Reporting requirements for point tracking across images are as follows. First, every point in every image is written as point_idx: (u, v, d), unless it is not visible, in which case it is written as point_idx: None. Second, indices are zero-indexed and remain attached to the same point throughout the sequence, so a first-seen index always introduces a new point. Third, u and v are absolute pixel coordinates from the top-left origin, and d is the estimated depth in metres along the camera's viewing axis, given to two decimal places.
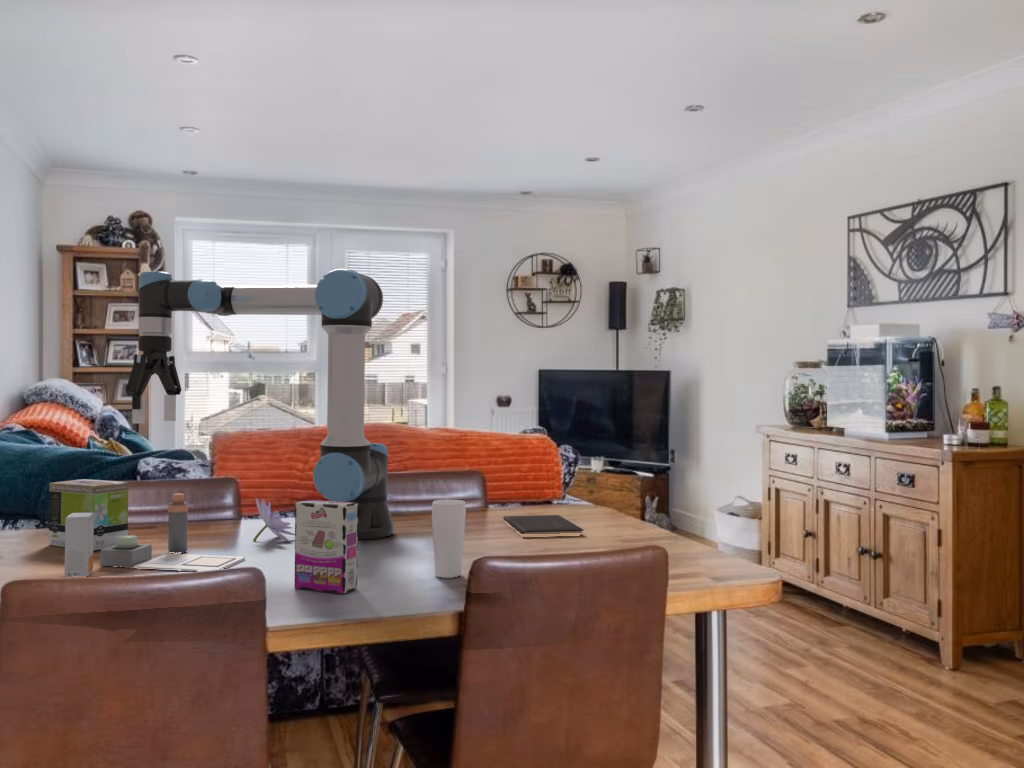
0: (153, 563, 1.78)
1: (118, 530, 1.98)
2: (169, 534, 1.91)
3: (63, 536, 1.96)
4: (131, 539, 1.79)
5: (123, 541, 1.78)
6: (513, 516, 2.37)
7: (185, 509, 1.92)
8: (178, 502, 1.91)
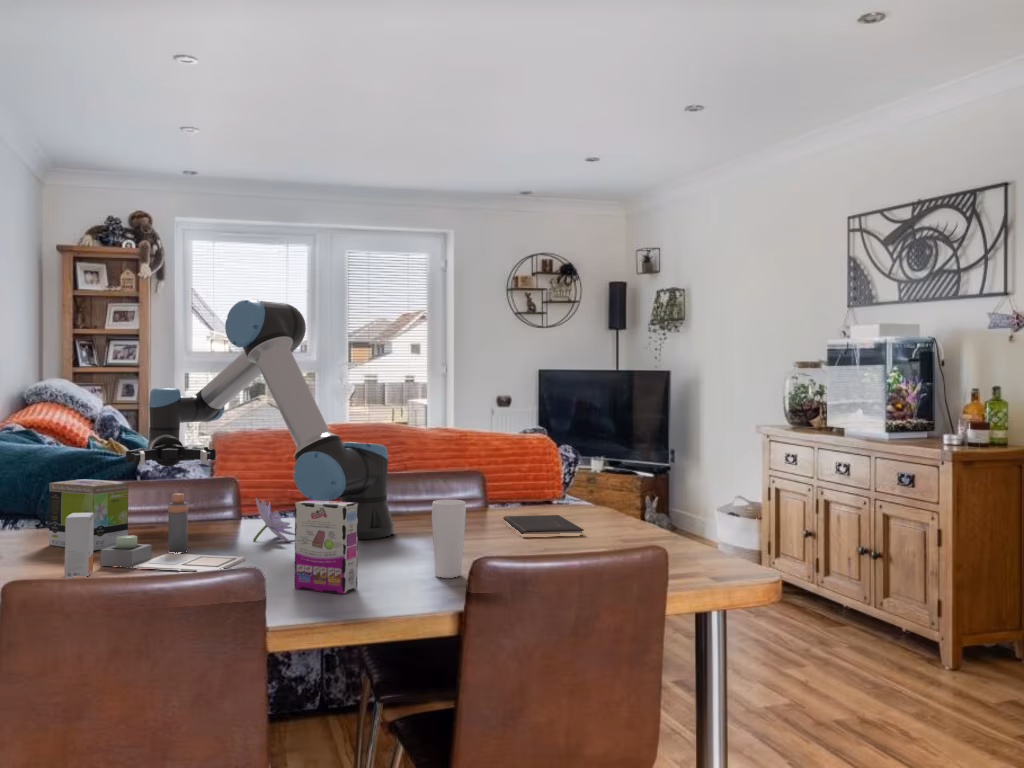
0: (153, 563, 1.78)
1: (118, 530, 1.98)
2: (169, 534, 1.91)
3: (63, 536, 1.96)
4: (131, 539, 1.79)
5: (123, 541, 1.78)
6: (513, 516, 2.37)
7: (185, 509, 1.92)
8: (178, 502, 1.91)
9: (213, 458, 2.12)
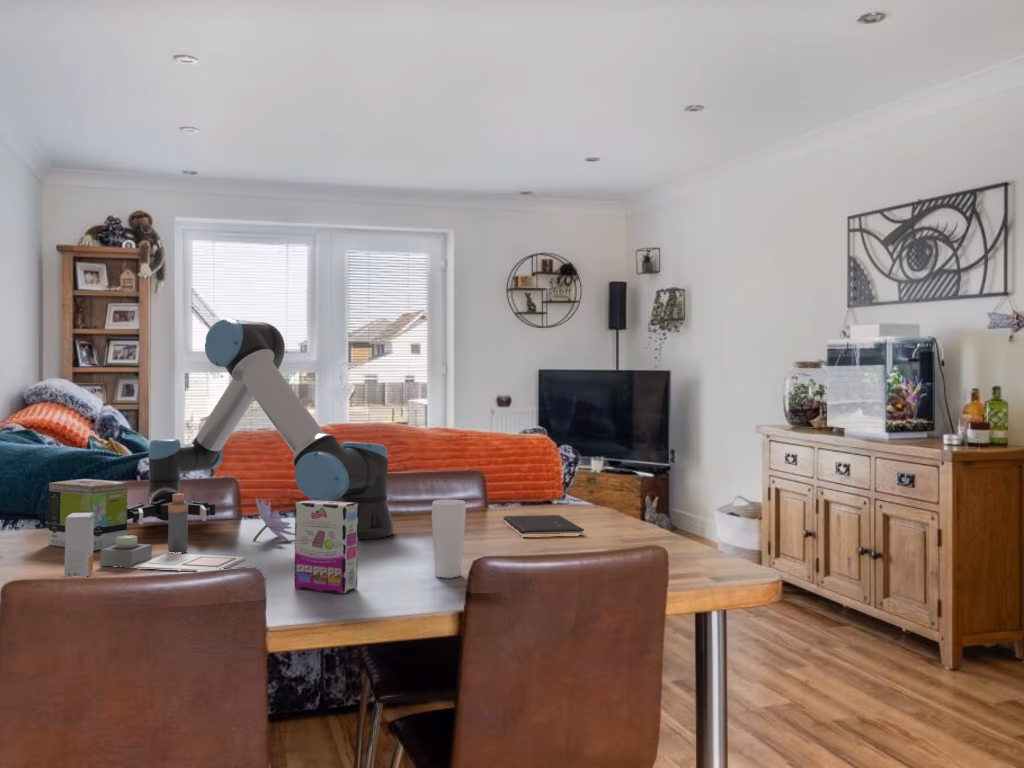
0: (153, 563, 1.78)
1: (117, 530, 1.97)
2: (169, 534, 1.91)
3: (62, 536, 1.95)
4: (131, 539, 1.79)
5: (123, 541, 1.78)
6: (513, 516, 2.37)
7: (185, 509, 1.92)
8: (178, 502, 1.91)
9: (213, 513, 2.09)
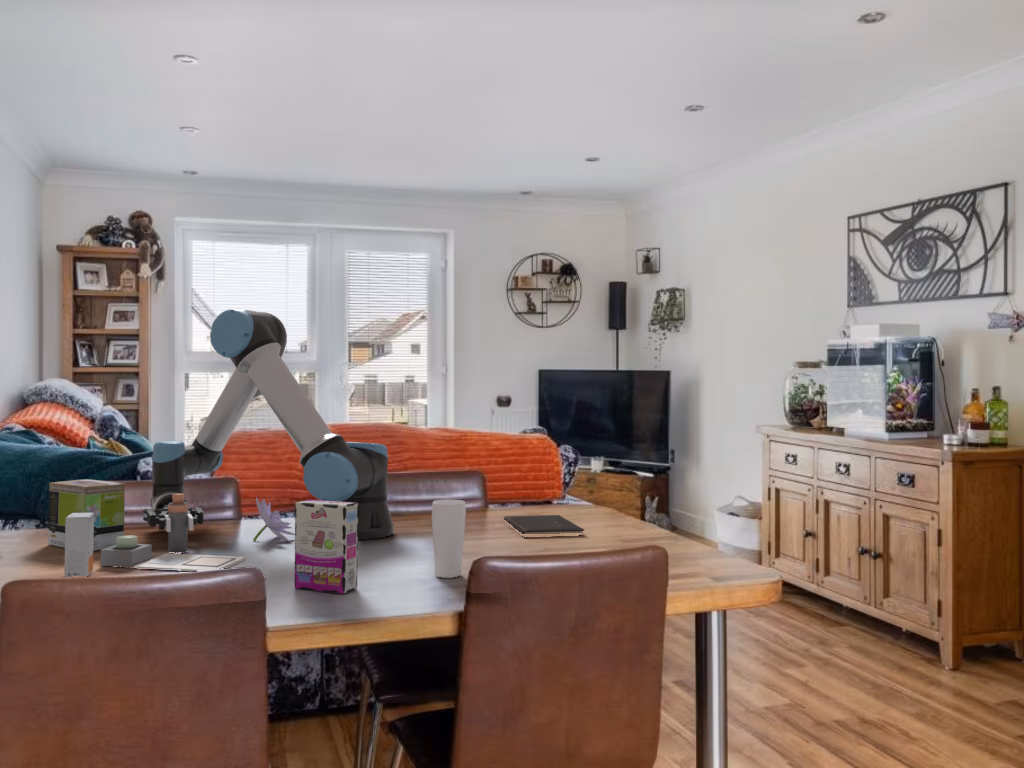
0: (153, 563, 1.78)
1: (112, 531, 1.96)
2: (169, 534, 1.91)
3: (59, 536, 1.95)
4: (131, 539, 1.79)
5: (123, 541, 1.78)
6: (513, 516, 2.37)
7: (185, 509, 1.92)
8: (178, 502, 1.91)
9: (199, 522, 1.96)
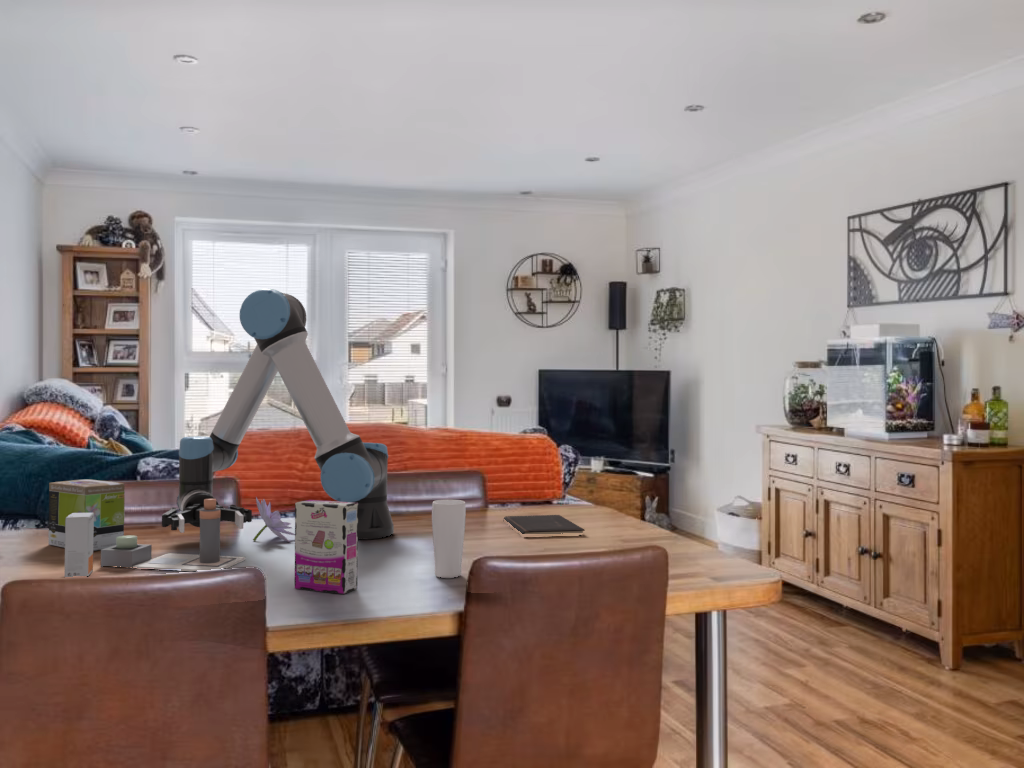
0: (153, 563, 1.78)
1: (112, 531, 1.96)
2: (201, 542, 1.79)
3: (59, 536, 1.95)
4: (131, 539, 1.79)
5: (123, 541, 1.78)
6: (514, 516, 2.37)
7: (217, 515, 1.80)
8: (210, 508, 1.79)
9: (249, 520, 1.87)
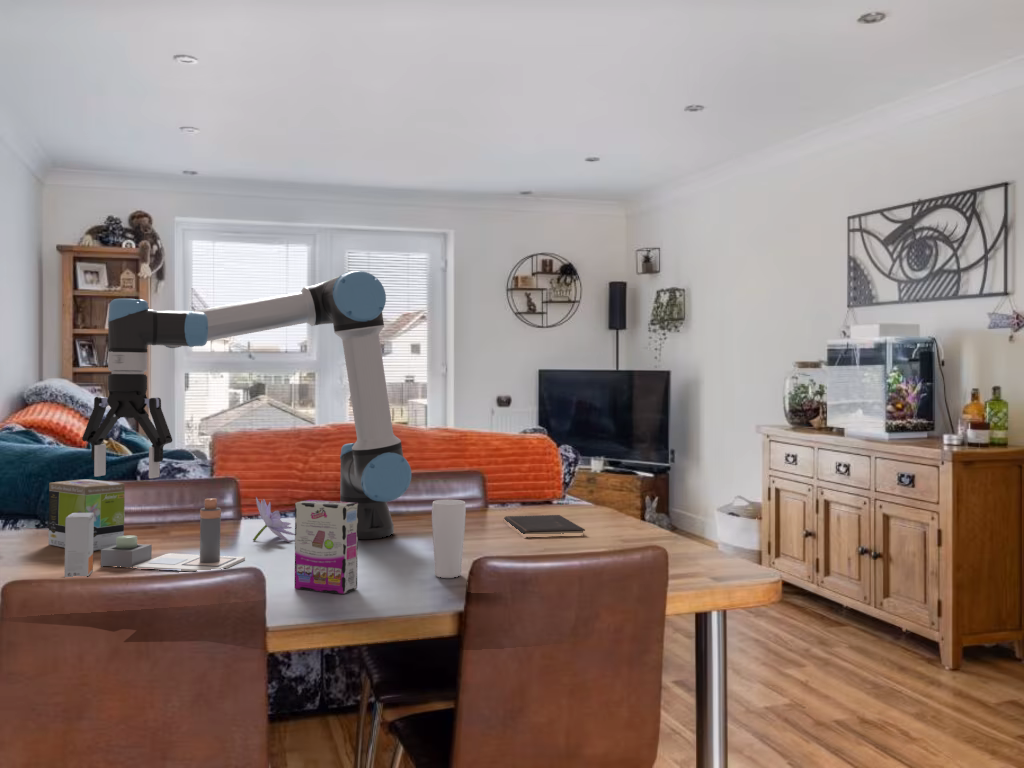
0: (153, 563, 1.78)
1: (112, 531, 1.96)
2: (201, 542, 1.79)
3: (60, 536, 1.95)
4: (131, 539, 1.79)
5: (123, 541, 1.78)
6: (514, 516, 2.37)
7: (218, 515, 1.80)
8: (211, 507, 1.80)
9: None
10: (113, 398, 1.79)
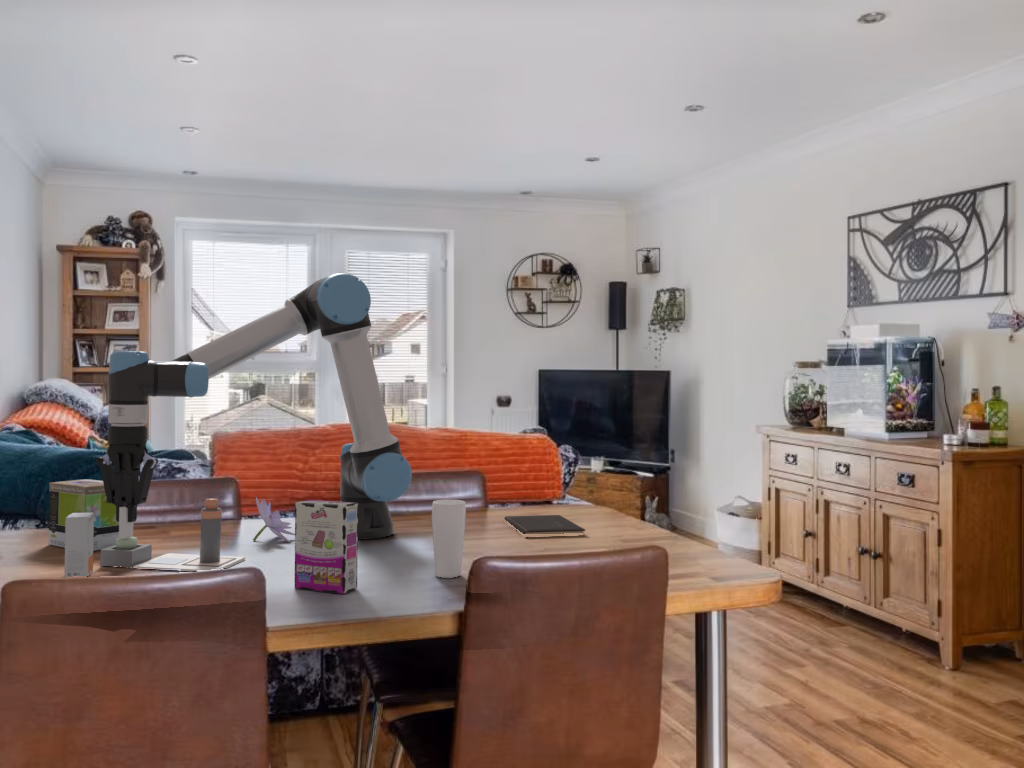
0: (153, 563, 1.78)
1: (112, 531, 1.96)
2: (201, 542, 1.79)
3: (60, 536, 1.95)
4: (131, 540, 1.79)
5: (123, 542, 1.78)
6: (514, 516, 2.37)
7: (219, 515, 1.80)
8: (212, 508, 1.79)
9: (111, 502, 1.80)
10: (111, 449, 1.79)
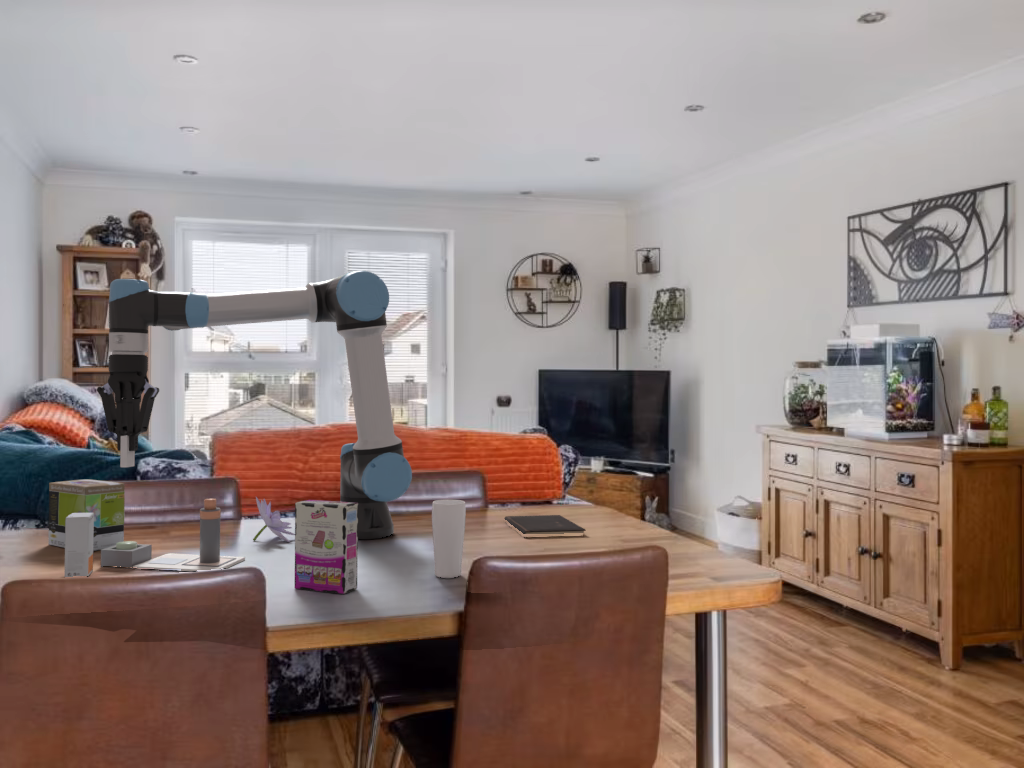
0: (153, 563, 1.78)
1: (112, 531, 1.96)
2: (201, 542, 1.79)
3: (60, 536, 1.95)
4: (131, 545, 1.79)
5: (122, 547, 1.78)
6: (514, 516, 2.37)
7: (218, 515, 1.80)
8: (211, 508, 1.79)
9: (113, 431, 1.79)
10: (112, 378, 1.79)
